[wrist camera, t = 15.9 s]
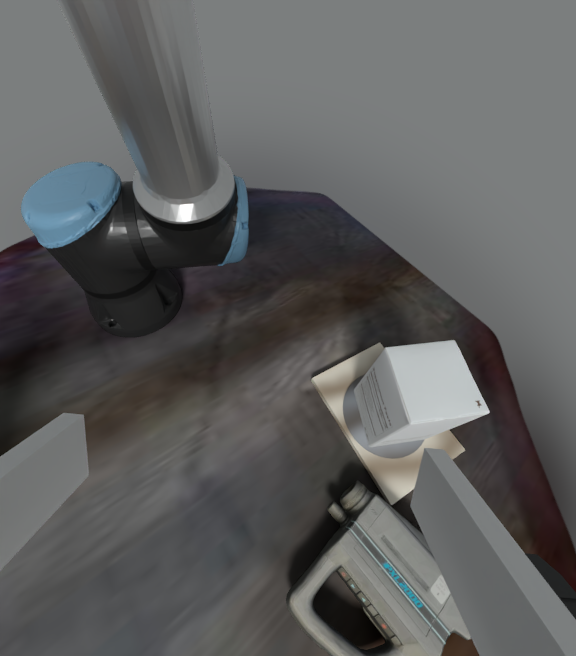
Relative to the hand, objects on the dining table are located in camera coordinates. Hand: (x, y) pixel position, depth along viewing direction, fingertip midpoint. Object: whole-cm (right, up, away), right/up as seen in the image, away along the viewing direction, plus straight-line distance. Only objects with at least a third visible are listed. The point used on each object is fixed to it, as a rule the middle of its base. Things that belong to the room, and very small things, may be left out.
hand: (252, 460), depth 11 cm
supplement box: (+17, -8, +33) cm, 38 cm away
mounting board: (+16, -8, +34) cm, 39 cm away
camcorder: (+12, -25, +25) cm, 37 cm away
